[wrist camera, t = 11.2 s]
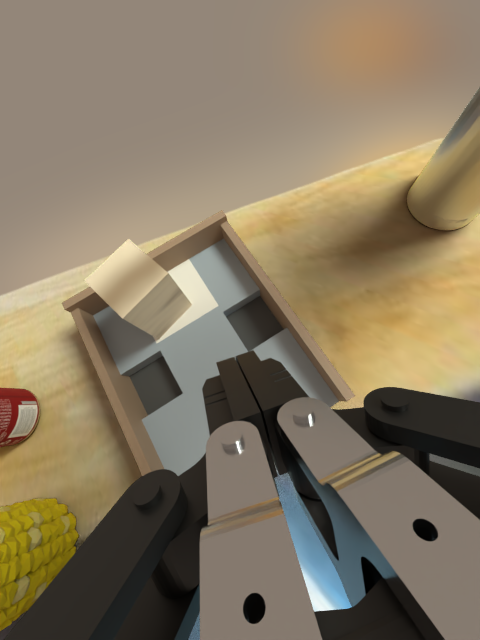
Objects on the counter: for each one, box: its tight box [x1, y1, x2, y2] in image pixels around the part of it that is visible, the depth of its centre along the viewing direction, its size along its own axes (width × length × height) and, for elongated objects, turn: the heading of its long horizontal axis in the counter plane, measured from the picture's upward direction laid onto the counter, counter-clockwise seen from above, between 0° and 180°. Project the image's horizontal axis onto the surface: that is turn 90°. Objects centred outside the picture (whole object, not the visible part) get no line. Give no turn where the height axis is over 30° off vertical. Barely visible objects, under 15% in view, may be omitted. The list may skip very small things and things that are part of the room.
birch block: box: [84, 239, 192, 339], centre depth 31 cm, size 6×6×9 cm
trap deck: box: [62, 210, 355, 476], centre depth 32 cm, size 26×22×6 cm
